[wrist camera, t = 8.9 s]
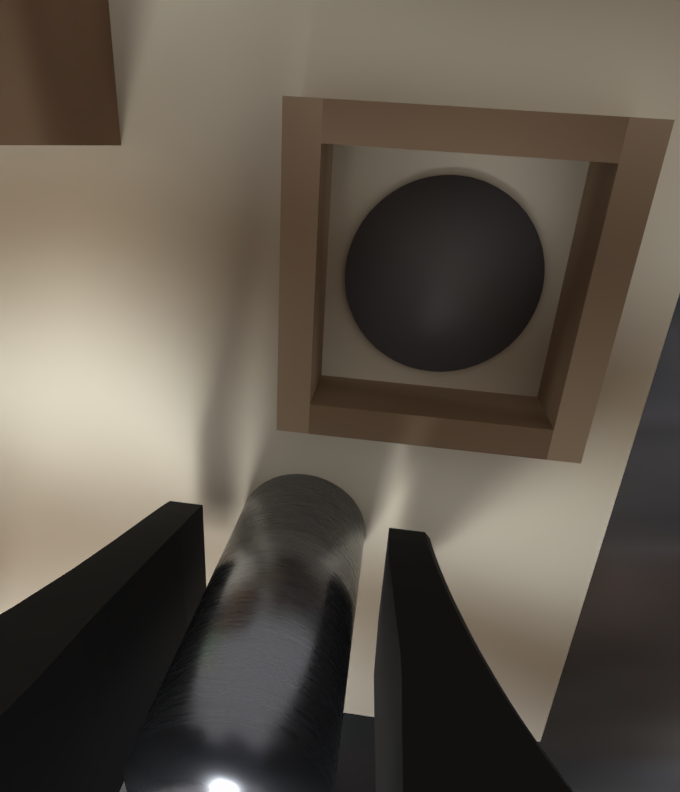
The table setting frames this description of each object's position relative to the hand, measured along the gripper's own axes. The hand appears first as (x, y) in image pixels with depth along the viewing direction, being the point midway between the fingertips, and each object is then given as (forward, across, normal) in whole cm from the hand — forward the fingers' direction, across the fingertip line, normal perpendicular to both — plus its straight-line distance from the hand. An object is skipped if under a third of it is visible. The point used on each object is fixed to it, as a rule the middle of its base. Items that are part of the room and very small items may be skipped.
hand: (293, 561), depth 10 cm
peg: (+1, 0, 0) cm, 1 cm away
